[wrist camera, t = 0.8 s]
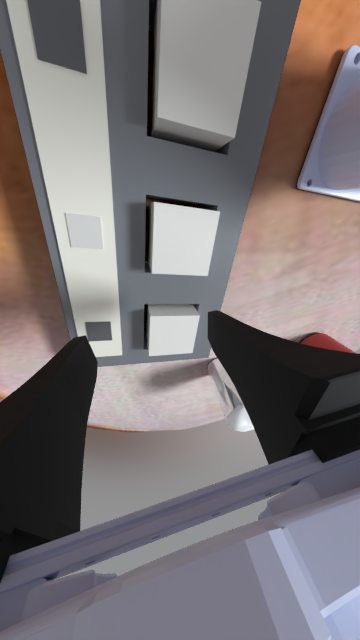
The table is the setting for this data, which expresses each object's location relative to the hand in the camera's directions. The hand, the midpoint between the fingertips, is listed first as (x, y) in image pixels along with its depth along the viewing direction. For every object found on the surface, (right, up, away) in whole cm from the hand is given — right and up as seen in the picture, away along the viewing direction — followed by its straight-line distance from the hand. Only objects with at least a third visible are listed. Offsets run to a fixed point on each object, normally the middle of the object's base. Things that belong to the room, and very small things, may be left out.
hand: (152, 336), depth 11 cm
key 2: (0, +1, +8) cm, 8 cm away
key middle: (+1, +8, +4) cm, 9 cm away
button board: (-1, +9, +5) cm, 10 cm away
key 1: (+2, +15, 0) cm, 15 cm away
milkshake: (+8, -6, +16) cm, 19 cm away
